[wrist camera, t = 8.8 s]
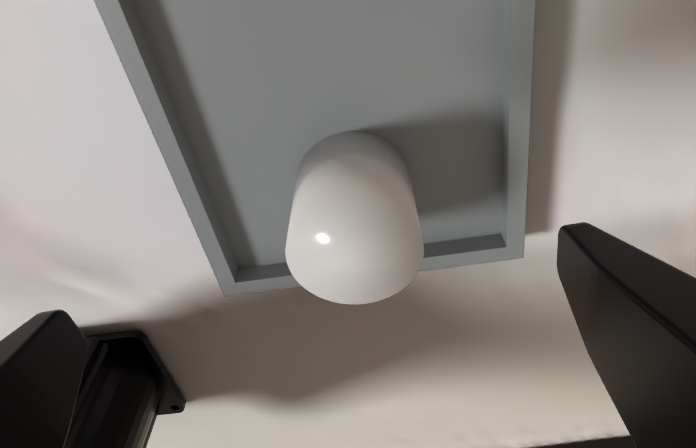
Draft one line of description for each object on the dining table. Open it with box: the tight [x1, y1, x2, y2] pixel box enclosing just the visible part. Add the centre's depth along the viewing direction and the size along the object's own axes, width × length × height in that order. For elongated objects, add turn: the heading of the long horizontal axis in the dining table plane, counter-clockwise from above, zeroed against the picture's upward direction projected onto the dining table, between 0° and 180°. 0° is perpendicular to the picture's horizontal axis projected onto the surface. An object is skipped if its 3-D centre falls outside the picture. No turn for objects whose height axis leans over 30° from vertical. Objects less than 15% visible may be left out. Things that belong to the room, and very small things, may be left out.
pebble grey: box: [285, 131, 424, 304], centre depth 18 cm, size 4×4×4 cm
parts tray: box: [94, 0, 536, 296], centre depth 17 cm, size 14×13×1 cm
